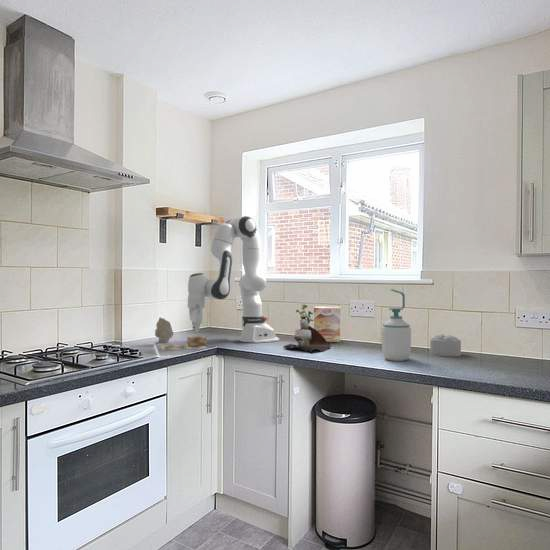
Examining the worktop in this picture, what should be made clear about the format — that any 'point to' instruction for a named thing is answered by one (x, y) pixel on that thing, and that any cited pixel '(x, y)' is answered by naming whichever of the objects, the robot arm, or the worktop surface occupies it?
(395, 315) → the soap bottle
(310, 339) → the potted plant
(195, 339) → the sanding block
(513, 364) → the worktop surface
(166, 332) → the stone tool
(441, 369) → the worktop surface
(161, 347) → the board
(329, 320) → the coffeecake box
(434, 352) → the lumpy-topped squat cylinder
